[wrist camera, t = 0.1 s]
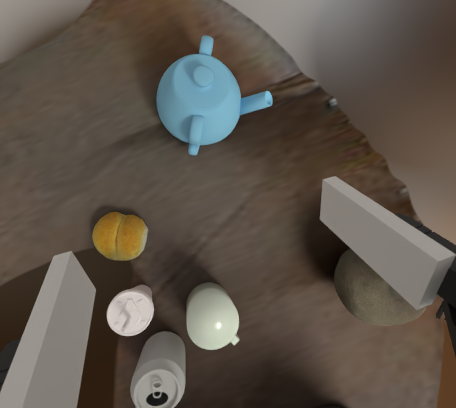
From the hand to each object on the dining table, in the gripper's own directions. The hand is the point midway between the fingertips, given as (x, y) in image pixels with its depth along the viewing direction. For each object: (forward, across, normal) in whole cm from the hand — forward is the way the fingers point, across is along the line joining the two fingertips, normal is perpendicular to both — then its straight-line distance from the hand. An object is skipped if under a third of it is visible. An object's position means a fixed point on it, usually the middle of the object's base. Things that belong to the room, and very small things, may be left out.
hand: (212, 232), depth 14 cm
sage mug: (+21, +1, +33) cm, 39 cm away
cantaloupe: (+19, -28, +36) cm, 49 cm away
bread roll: (+31, +12, +20) cm, 38 cm away
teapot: (+41, -9, +4) cm, 43 cm away
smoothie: (+24, +12, +28) cm, 39 cm away
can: (+18, +11, +37) cm, 43 cm away
